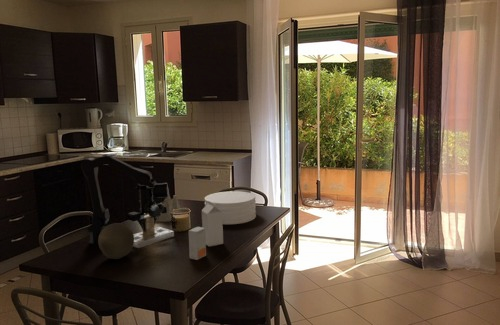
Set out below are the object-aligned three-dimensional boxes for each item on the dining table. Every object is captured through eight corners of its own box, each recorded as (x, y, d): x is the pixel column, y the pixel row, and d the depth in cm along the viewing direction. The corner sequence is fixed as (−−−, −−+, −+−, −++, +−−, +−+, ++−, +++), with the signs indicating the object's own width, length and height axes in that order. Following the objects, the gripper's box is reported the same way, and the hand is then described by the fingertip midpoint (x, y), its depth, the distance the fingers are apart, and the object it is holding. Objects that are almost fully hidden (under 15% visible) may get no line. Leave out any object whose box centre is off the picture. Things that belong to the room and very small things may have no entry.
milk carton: (208, 247, 174) (206, 205, 171) (202, 242, 180) (201, 201, 177) (223, 244, 177) (221, 202, 174) (217, 239, 183) (215, 199, 181)
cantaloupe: (97, 257, 166) (94, 222, 164) (131, 250, 173) (128, 217, 171) (102, 268, 154) (99, 231, 152) (139, 260, 161) (136, 225, 158)
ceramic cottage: (186, 214, 225) (183, 189, 223) (167, 224, 211) (163, 196, 209) (166, 213, 233) (162, 188, 231) (146, 222, 219) (142, 196, 217)
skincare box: (197, 260, 159) (196, 232, 158) (189, 258, 162) (187, 230, 160) (206, 255, 164) (205, 227, 163) (198, 253, 167) (197, 226, 165)
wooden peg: (147, 239, 183) (146, 219, 182) (143, 238, 186) (141, 217, 184) (155, 237, 186) (153, 217, 185) (150, 235, 189) (148, 215, 187)
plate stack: (227, 207, 239) (226, 189, 237) (265, 214, 223) (265, 194, 221) (195, 219, 217) (193, 199, 215) (235, 227, 200) (234, 205, 199)
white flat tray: (137, 248, 175) (137, 242, 174) (123, 242, 183) (122, 237, 182) (174, 236, 189) (173, 231, 189) (159, 231, 197) (159, 226, 197)
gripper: (138, 205, 171) (141, 239, 173) (173, 196, 185) (175, 228, 187) (124, 201, 178) (127, 234, 181) (159, 193, 192) (161, 224, 194)
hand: (148, 230), depth 185 cm, fingers closed on wooden peg, 4 cm apart
